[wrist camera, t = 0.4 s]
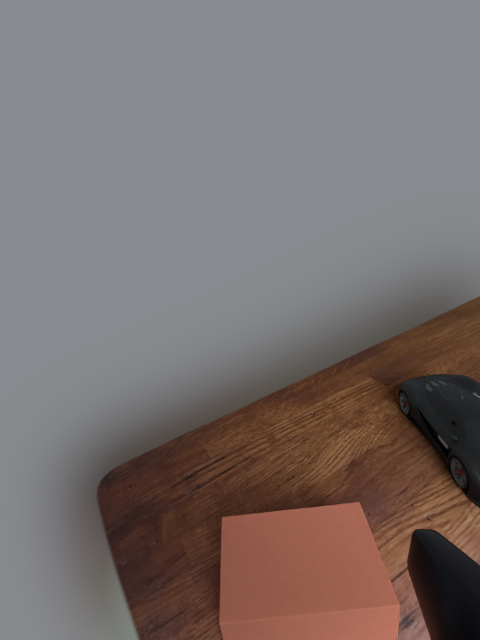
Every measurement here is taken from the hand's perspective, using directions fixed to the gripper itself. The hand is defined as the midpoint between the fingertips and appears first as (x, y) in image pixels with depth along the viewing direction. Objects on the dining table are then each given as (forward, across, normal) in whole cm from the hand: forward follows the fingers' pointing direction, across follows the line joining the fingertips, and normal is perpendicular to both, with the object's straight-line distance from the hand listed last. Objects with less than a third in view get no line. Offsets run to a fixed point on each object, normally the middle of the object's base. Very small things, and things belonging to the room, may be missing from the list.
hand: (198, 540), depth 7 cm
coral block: (+11, -5, +16) cm, 20 cm away
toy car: (+22, -22, +12) cm, 33 cm away
